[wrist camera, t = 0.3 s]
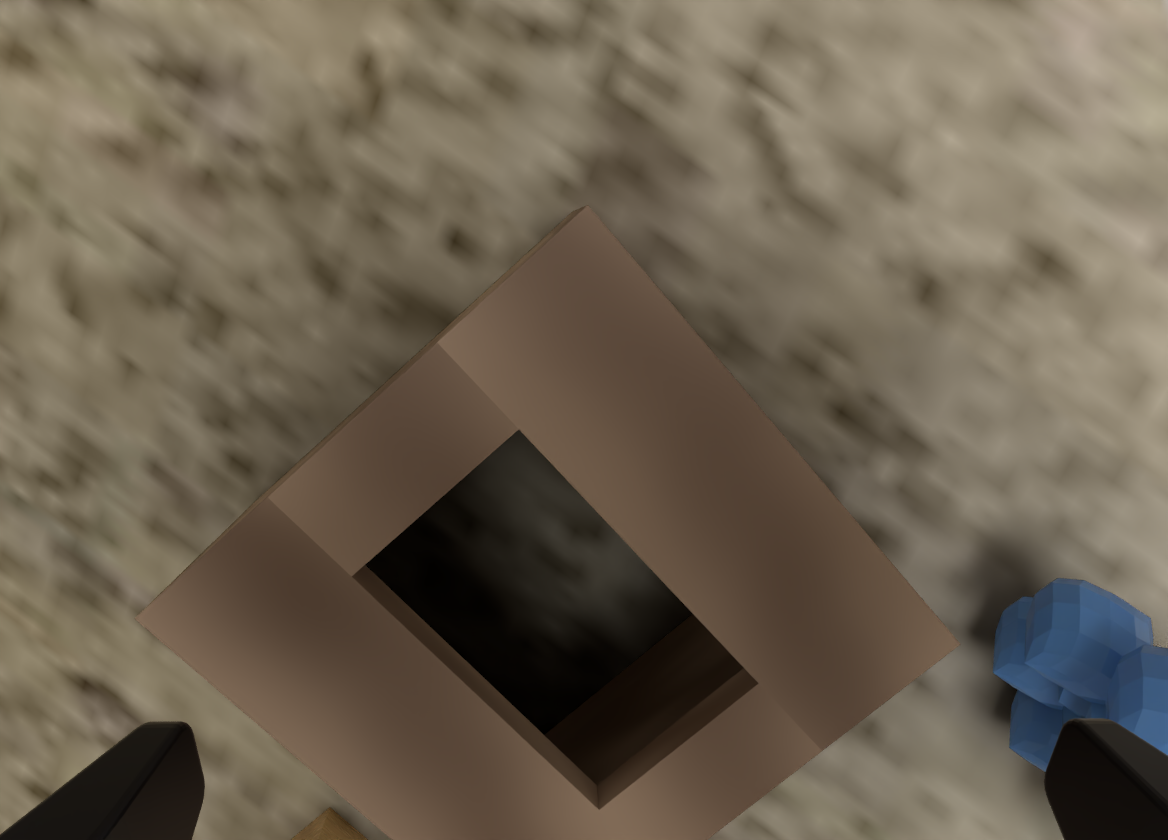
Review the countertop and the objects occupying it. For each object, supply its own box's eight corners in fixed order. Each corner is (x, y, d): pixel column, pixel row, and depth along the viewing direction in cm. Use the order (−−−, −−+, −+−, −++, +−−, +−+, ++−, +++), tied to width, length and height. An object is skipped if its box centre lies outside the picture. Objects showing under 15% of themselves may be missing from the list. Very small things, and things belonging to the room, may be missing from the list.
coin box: (540, 768, 25) (540, 967, 18) (255, 500, 23) (134, 618, 16) (841, 525, 24) (960, 644, 17) (572, 211, 21) (587, 204, 15)
